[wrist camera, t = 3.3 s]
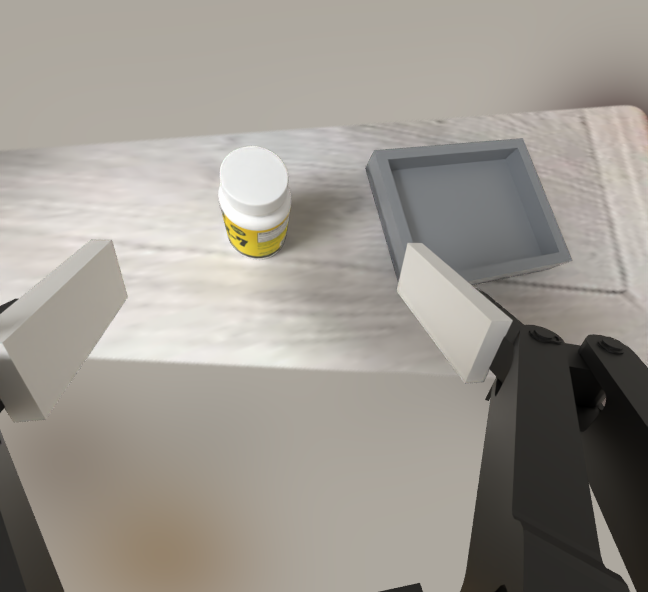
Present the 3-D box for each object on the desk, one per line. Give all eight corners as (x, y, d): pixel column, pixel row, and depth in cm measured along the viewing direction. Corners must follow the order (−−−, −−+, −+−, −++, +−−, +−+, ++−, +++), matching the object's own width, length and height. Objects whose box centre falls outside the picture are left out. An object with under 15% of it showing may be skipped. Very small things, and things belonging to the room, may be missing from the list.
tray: (403, 298, 27) (416, 291, 25) (365, 168, 30) (374, 150, 27) (548, 269, 31) (572, 260, 29) (504, 155, 34) (522, 138, 31)
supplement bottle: (217, 222, 26) (196, 154, 18) (267, 200, 27) (269, 127, 19) (246, 271, 25) (237, 223, 17) (296, 246, 27) (310, 191, 19)
